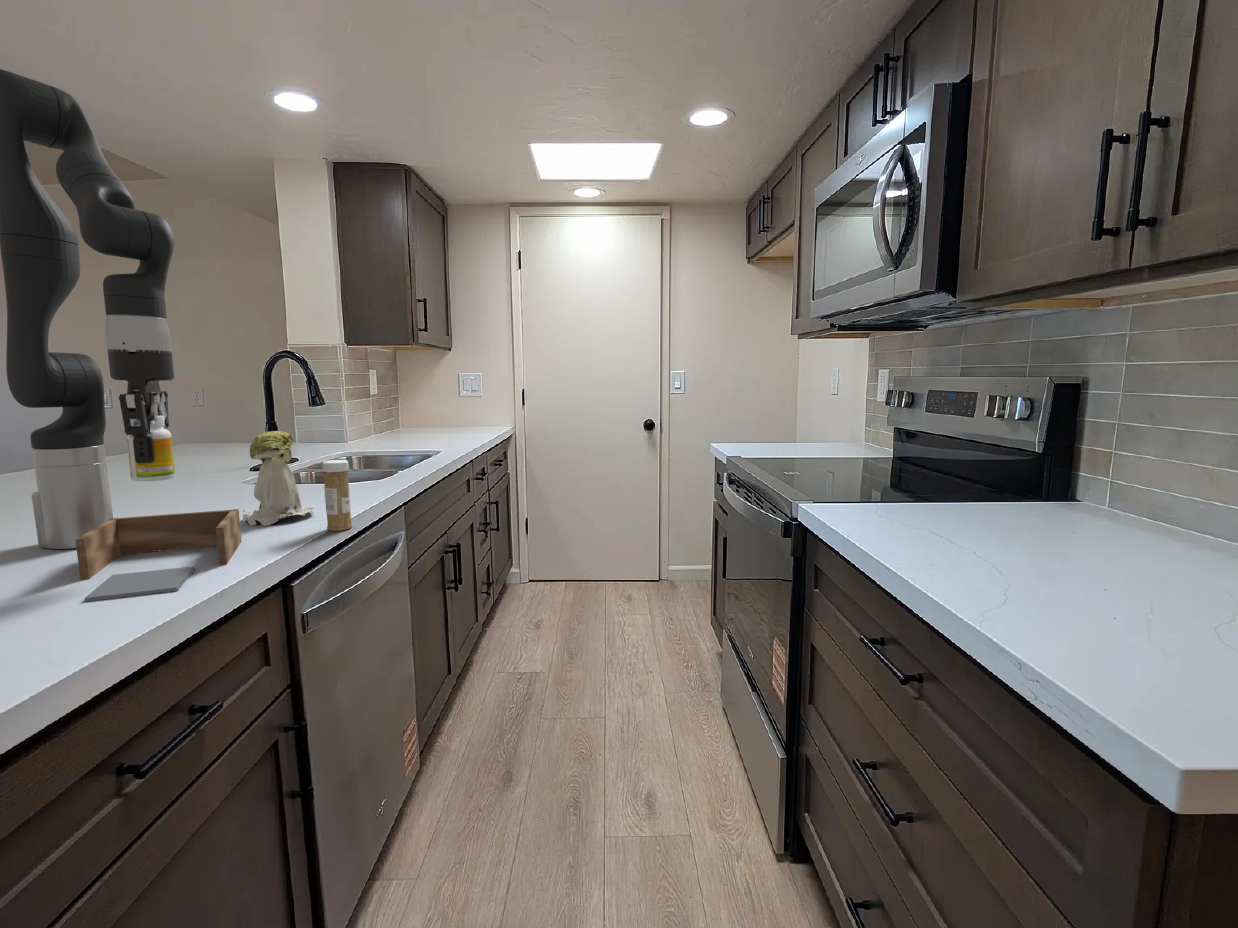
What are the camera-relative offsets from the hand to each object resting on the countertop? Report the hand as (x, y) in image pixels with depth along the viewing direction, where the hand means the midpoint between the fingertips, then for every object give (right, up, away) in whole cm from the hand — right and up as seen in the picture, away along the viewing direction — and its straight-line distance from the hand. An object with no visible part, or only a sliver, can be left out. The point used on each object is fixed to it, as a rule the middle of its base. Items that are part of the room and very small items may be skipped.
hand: (151, 459), depth 90 cm
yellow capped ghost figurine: (+1, -12, +33) cm, 35 cm away
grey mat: (+4, -18, -6) cm, 20 cm away
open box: (-1, -16, +5) cm, 17 cm away
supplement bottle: (0, -3, +1) cm, 3 cm away
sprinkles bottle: (+17, -14, +25) cm, 33 cm away
